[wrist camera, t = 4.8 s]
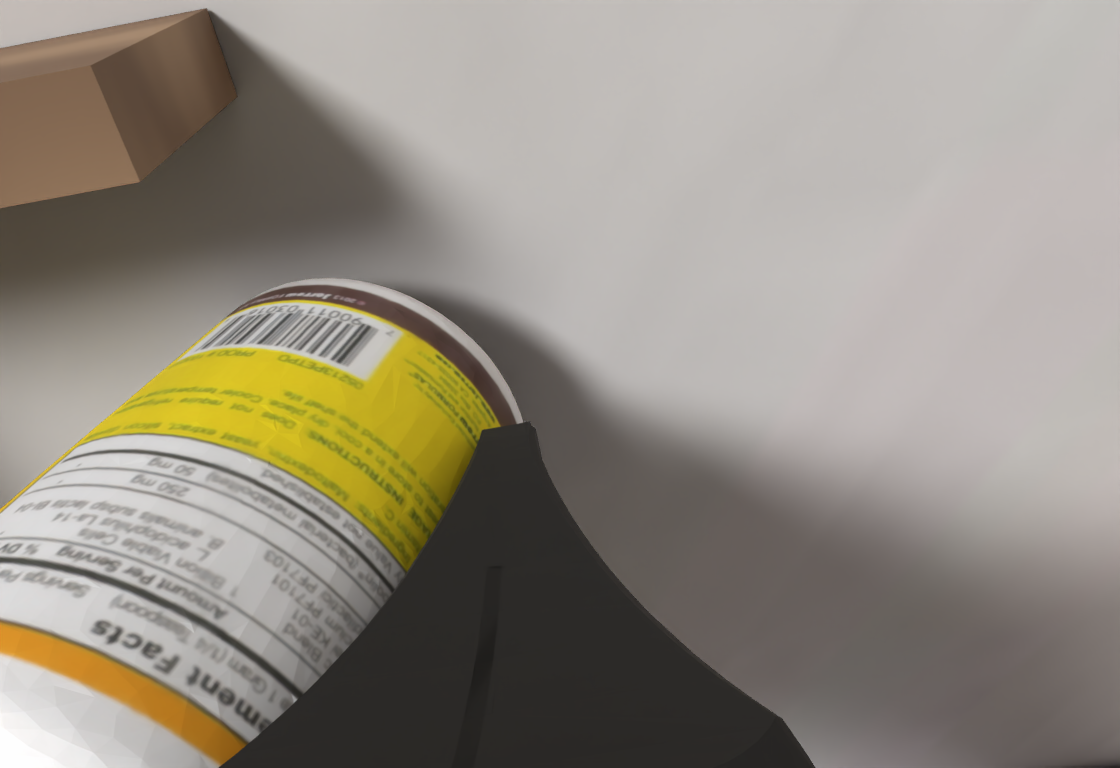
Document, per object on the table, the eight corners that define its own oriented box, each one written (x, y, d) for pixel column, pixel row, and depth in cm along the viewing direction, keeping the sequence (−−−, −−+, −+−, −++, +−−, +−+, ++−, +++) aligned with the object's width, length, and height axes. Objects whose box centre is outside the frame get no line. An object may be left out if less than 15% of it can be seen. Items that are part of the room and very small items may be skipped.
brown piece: (430, 650, 19) (414, 828, 15) (-32, 727, 19) (-150, 917, 16) (206, 8, 12) (90, 65, 9) (-490, 143, 13) (-865, 250, 9)
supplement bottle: (386, 580, 17) (-36, 1331, 9) (166, 368, 15) (-615, 1036, 7) (612, 465, 14) (310, 1415, 6) (371, 190, 12) (-529, 951, 4)
